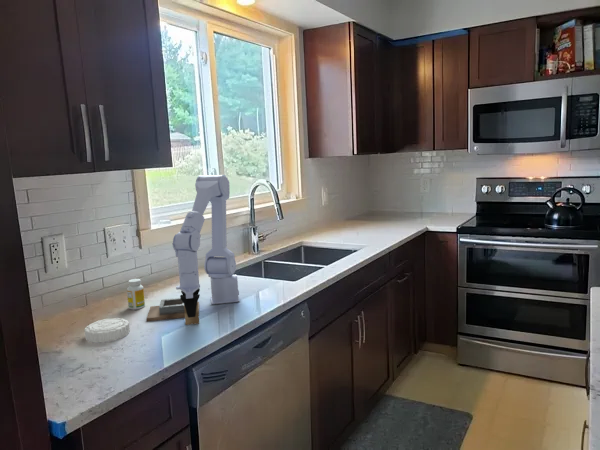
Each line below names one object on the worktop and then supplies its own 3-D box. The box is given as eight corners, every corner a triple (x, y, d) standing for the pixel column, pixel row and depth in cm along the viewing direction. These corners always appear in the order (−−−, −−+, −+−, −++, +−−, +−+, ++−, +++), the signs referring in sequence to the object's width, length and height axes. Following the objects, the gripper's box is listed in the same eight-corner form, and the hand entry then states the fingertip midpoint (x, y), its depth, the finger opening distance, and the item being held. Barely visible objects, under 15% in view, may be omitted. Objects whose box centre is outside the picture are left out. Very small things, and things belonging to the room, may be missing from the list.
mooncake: (113, 325, 143) (112, 314, 143) (138, 332, 137) (137, 320, 136) (76, 338, 133) (75, 326, 133) (101, 346, 127) (100, 334, 126)
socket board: (199, 304, 159) (198, 294, 159) (199, 315, 148) (198, 305, 147) (150, 309, 156) (149, 299, 156) (146, 321, 145) (145, 310, 144)
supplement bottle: (126, 310, 156) (124, 282, 155) (130, 305, 161) (128, 278, 160) (143, 309, 157) (140, 281, 155) (146, 304, 162) (144, 277, 160)
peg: (199, 319, 145) (197, 294, 144) (199, 323, 141) (197, 298, 140) (186, 320, 144) (184, 295, 143) (185, 325, 140) (183, 299, 139)
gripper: (176, 267, 146) (179, 308, 148) (173, 278, 132) (177, 324, 134) (199, 265, 148) (201, 306, 150) (198, 276, 134) (202, 321, 136)
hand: (191, 314), depth 142 cm, fingers closed on peg, 4 cm apart
